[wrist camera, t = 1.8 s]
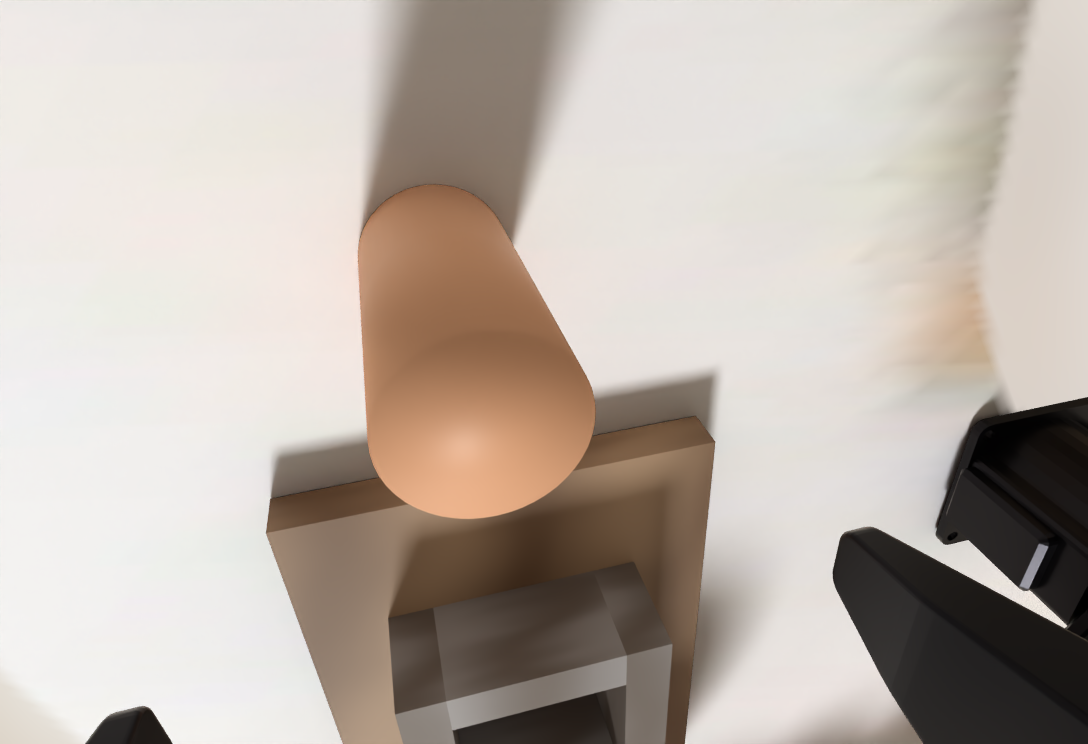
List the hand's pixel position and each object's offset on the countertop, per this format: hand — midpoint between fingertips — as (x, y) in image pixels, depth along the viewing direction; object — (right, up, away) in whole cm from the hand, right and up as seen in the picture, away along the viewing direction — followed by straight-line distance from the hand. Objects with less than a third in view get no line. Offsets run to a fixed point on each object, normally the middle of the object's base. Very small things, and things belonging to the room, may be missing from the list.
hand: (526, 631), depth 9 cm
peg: (-3, +6, +10) cm, 12 cm away
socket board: (-1, -7, +19) cm, 20 cm away
